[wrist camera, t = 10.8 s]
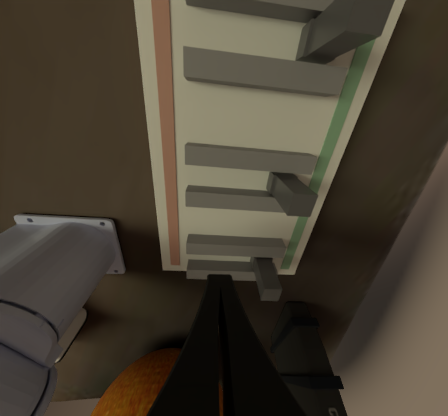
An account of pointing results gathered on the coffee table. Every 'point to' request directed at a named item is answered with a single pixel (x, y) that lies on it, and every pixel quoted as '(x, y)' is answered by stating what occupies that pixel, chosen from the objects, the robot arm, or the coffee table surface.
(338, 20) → the breaker
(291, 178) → the breaker mid
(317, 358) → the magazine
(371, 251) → the coffee table surface
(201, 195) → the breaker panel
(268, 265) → the block
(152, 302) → the coffee table surface
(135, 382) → the decorative sphere
